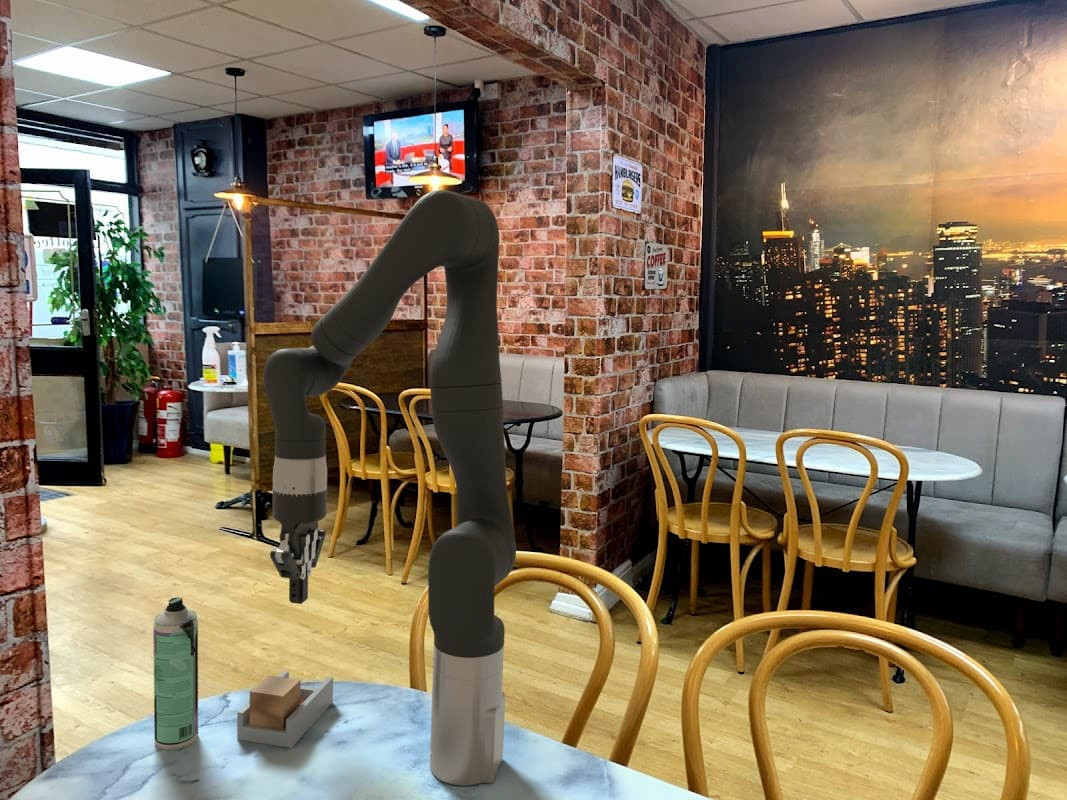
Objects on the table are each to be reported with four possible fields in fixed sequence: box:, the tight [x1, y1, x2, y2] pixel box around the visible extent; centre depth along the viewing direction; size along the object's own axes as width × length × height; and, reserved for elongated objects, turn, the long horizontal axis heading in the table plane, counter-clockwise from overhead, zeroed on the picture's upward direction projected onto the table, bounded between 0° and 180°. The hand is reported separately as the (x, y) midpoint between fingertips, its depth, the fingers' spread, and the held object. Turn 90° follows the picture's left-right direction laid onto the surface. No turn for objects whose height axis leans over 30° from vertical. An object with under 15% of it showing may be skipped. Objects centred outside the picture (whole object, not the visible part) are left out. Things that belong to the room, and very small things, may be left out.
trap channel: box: [236, 670, 334, 749], centre depth 114 cm, size 8×13×4 cm, turn 169°
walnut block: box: [249, 674, 302, 731], centre depth 110 cm, size 5×5×5 cm
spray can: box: [153, 596, 199, 751], centre depth 107 cm, size 6×6×20 cm
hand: (298, 601), depth 115 cm, fingers closed
